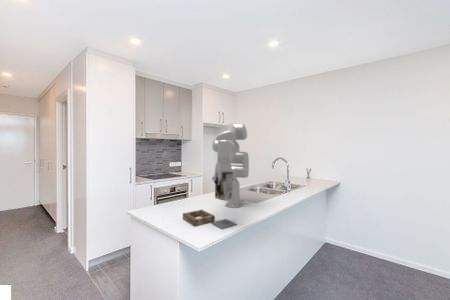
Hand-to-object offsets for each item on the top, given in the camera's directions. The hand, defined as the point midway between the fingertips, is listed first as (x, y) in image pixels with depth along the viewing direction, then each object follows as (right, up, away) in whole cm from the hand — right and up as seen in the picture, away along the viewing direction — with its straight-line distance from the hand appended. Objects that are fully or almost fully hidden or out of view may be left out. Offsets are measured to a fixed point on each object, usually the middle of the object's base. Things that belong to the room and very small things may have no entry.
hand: (223, 190), depth 124 cm
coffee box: (0, -5, 0) cm, 5 cm away
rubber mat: (0, -20, 0) cm, 20 cm away
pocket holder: (-16, -20, +7) cm, 27 cm away
